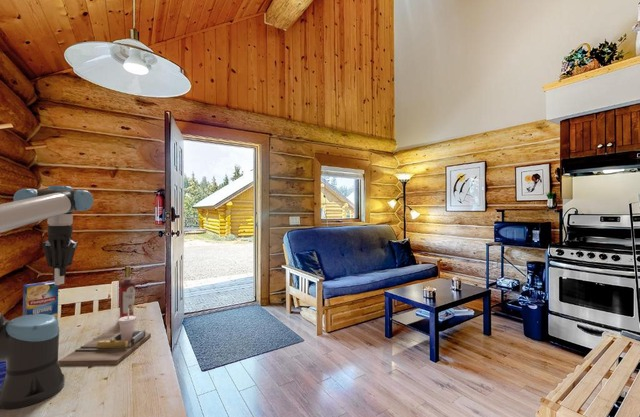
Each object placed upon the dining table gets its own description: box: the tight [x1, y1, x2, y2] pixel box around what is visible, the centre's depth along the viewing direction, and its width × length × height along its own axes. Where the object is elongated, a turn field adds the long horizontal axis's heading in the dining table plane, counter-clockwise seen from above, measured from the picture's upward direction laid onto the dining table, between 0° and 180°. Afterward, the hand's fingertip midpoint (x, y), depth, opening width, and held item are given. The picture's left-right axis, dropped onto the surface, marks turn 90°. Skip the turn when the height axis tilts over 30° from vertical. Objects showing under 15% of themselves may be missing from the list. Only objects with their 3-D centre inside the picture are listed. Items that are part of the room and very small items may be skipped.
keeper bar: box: [97, 338, 128, 349], centre depth 118 cm, size 2×11×4 cm, turn 93°
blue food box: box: [22, 280, 59, 320], centre depth 138 cm, size 7×11×22 cm, turn 146°
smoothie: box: [117, 308, 137, 342], centre depth 125 cm, size 6×6×14 cm
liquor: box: [118, 265, 137, 320], centre depth 153 cm, size 7×7×28 cm
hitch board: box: [58, 332, 152, 366], centre depth 121 cm, size 24×21×2 cm
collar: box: [110, 329, 146, 345], centre depth 126 cm, size 9×10×2 cm
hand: (59, 284), depth 116 cm, fingers closed
